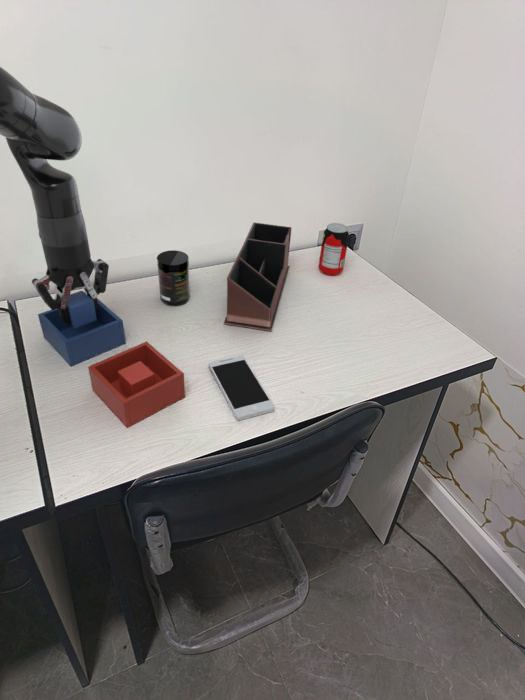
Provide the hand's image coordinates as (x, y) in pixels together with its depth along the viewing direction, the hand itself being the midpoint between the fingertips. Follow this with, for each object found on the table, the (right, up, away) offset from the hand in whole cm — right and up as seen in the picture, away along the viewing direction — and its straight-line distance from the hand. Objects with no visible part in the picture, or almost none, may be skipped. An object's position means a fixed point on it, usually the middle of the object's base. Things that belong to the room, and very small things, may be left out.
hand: (80, 317), depth 95 cm
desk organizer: (+34, +7, +22) cm, 41 cm away
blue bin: (0, -4, +3) cm, 6 cm away
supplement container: (+15, +5, +18) cm, 24 cm away
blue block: (0, 0, 0) cm, 0 cm away
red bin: (+13, -14, -8) cm, 21 cm away
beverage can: (+53, +14, +32) cm, 63 cm away
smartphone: (+31, -13, -5) cm, 34 cm away
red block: (+13, -14, -8) cm, 21 cm away
